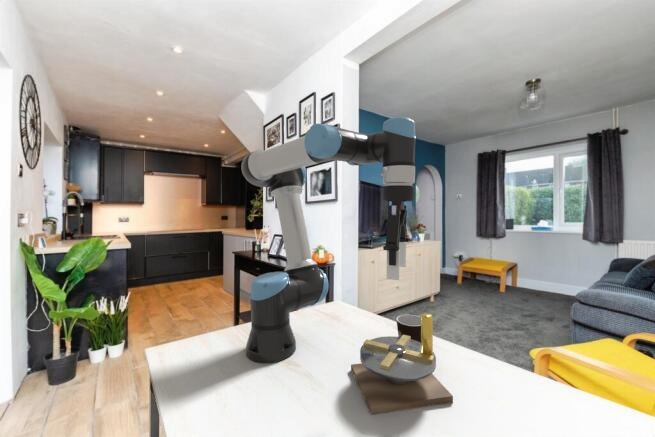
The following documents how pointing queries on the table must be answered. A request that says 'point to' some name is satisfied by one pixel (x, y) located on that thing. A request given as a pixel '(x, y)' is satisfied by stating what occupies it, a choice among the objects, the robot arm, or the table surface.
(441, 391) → the wheel stand
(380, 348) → the handwheel
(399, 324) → the coffee mug
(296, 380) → the table surface
